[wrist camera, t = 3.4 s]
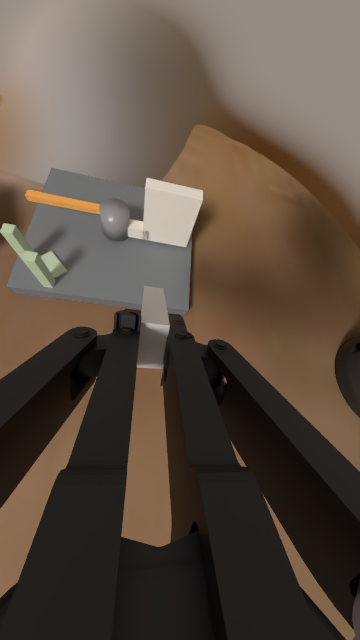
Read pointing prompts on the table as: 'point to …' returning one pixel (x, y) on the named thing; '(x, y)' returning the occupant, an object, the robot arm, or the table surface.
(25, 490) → the table surface
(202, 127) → the table surface
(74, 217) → the lever toy board
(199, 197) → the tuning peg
